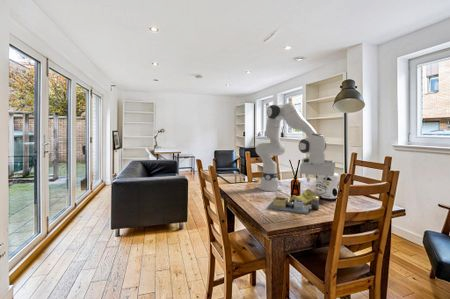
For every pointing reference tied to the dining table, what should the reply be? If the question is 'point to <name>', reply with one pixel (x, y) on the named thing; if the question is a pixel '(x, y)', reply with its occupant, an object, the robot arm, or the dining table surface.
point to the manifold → (289, 205)
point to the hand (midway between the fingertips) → (316, 181)
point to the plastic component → (304, 197)
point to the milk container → (327, 186)
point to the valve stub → (315, 203)
